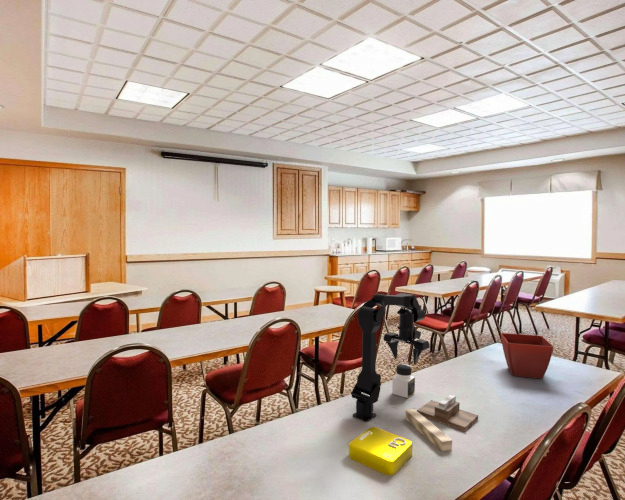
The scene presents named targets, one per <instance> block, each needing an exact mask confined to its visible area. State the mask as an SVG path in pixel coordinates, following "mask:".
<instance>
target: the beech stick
mask: <svg viewBox="0 0 625 500" xmlns="http://www.w3.org/2000/svg"><path fill="white" fill-rule="evenodd" d="M404 413H405V416H404V419H405V420H407V422H408V423H410V424H411V425H412V426H413V427H414V428H415V429H417V431H419V432H420V433H421V434H422V436H424V437H425V438H426V439H427V440H428V441H430V442H431V443H432V444H433V445H434V446H435V447H436V448H438V450H439V451H440V452H449V451H452V449H453V440H452V439H451V438H450V437H449V436H448V435H446V434H445V432H443V431H441V429H439V428H438V427H437V426H436V425H434V424H433V423H432V422H431V421H429V420H428V418H426V417H423V416H422V415H421V414H420V413H419V412H417V409H416V408H411V409H405V412H404Z"/></svg>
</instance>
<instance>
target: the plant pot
mask: <svg viewBox="0 0 625 500" xmlns="http://www.w3.org/2000/svg"><path fill="white" fill-rule="evenodd" d="M500 339H501V346H502V350H503V355H504V358H505V362H506V365H507V368H508V370H509V372H510V373H511V374H512V376H513V377H521V378H533V379H540V380H541V379H543V378H544V376H545V375H546V372H547V370H548V367H549V365H550V362H551V359H552V355H553V352H554V351H553V350H554V345H552V343H551V342H549V341H548V340H547V339H546V338H545V337H544V336H542V335H534V334H522V333H521V334H519V333H508V332H507V333H505V332H501V333H500Z"/></svg>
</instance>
